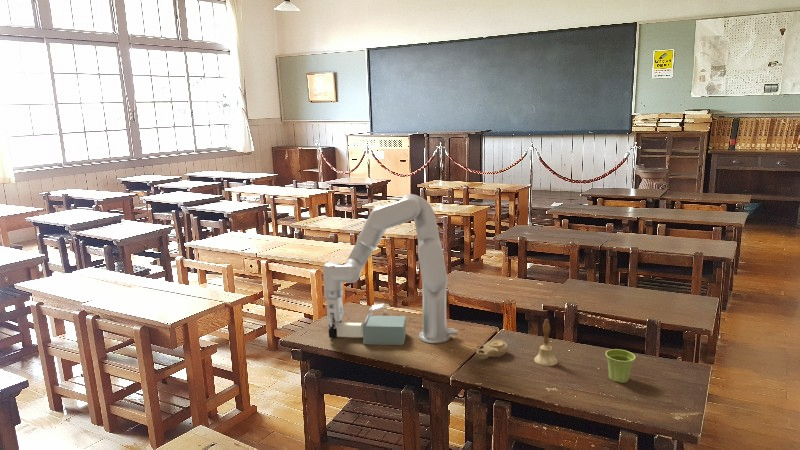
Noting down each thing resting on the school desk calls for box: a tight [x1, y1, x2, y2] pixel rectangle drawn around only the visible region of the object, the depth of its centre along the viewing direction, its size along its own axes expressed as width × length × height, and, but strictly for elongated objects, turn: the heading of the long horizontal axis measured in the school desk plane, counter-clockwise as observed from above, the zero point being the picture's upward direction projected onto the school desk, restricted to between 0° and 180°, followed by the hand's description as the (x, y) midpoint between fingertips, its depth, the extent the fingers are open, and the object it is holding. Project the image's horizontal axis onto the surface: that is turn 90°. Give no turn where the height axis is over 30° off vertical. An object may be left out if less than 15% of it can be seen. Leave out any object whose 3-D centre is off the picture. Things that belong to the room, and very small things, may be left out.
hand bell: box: [533, 318, 558, 367], centre depth 200 cm, size 8×8×16 cm
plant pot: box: [604, 348, 636, 384], centre depth 186 cm, size 9×9×9 cm
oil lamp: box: [475, 339, 509, 359], centre depth 206 cm, size 11×14×5 cm
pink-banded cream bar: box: [333, 322, 363, 338], centre depth 225 cm, size 13×3×5 cm, turn 85°
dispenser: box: [362, 313, 407, 346], centre depth 224 cm, size 16×12×8 cm
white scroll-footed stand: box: [368, 302, 388, 316], centre depth 249 cm, size 12×8×5 cm
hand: (335, 333), depth 226 cm, fingers open, 9 cm apart
